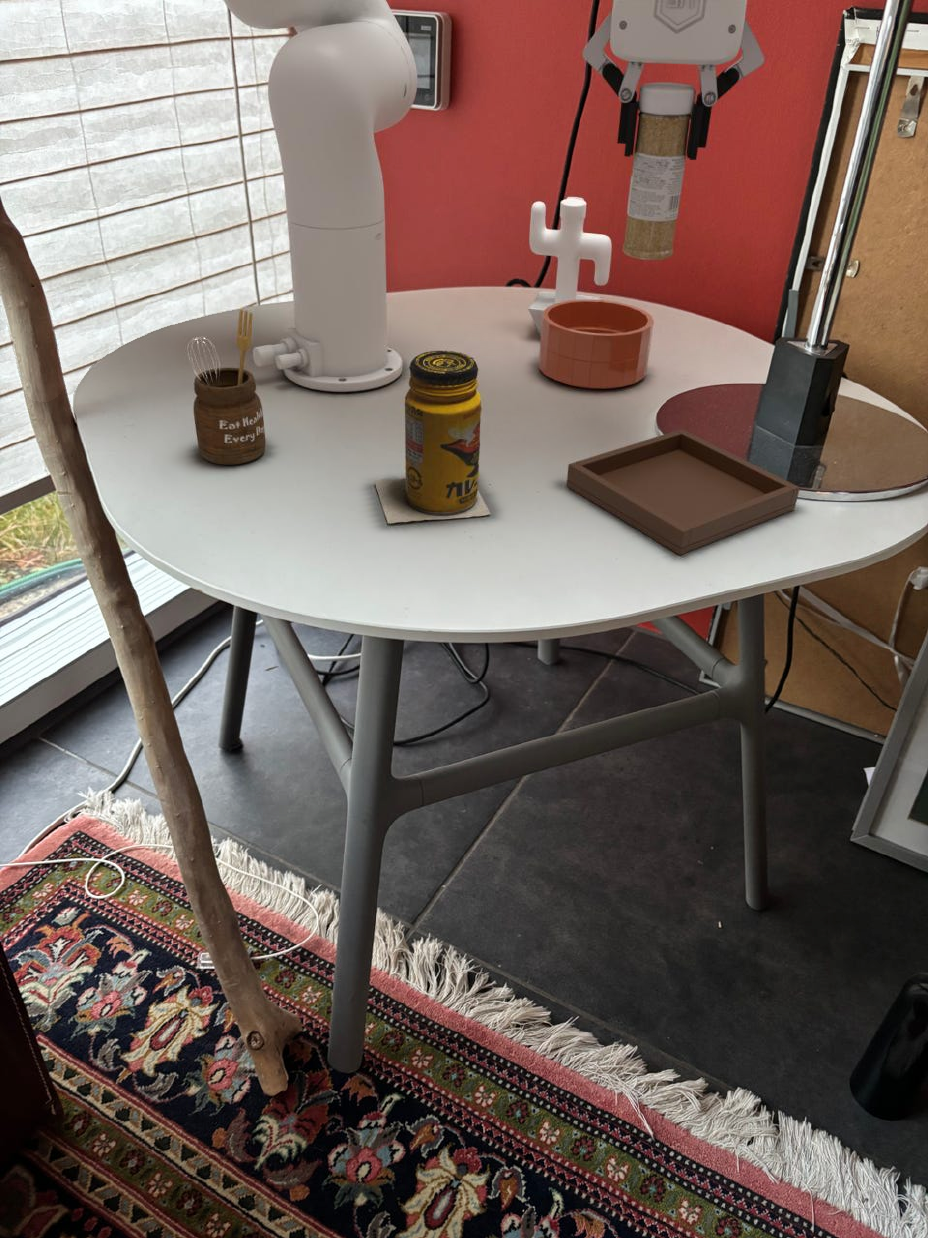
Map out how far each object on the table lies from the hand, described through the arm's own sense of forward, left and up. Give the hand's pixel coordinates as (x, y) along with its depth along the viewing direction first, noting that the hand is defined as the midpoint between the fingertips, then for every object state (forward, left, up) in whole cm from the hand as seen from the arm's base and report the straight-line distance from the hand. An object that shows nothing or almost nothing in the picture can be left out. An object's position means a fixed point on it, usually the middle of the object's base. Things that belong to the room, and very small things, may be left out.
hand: (660, 152), depth 82 cm
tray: (-7, -15, -24) cm, 29 cm away
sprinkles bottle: (0, 0, -9) cm, 9 cm away
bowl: (+6, +11, -24) cm, 27 cm away
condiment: (-25, -4, -24) cm, 35 cm away
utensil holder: (-35, +13, -24) cm, 45 cm away
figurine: (+11, +22, -24) cm, 35 cm away
